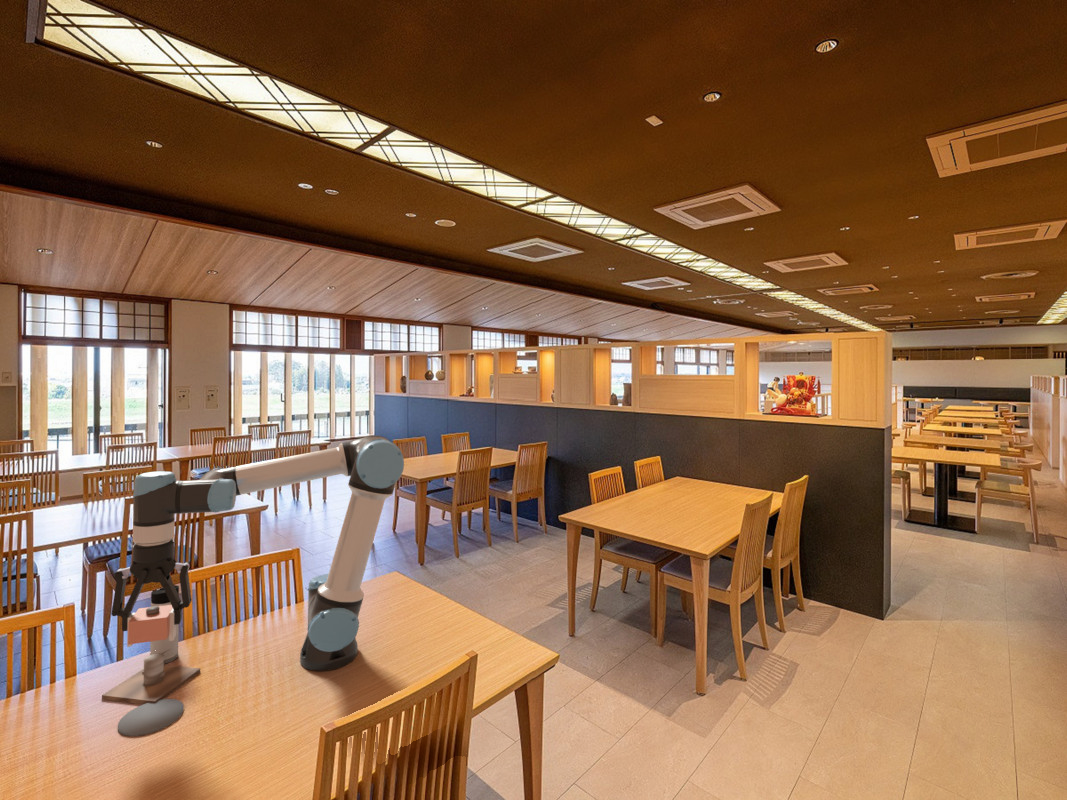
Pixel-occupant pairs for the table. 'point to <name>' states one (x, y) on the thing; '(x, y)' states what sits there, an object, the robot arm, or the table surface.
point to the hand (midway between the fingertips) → (152, 640)
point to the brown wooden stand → (151, 682)
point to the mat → (150, 717)
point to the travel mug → (166, 646)
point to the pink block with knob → (149, 624)
